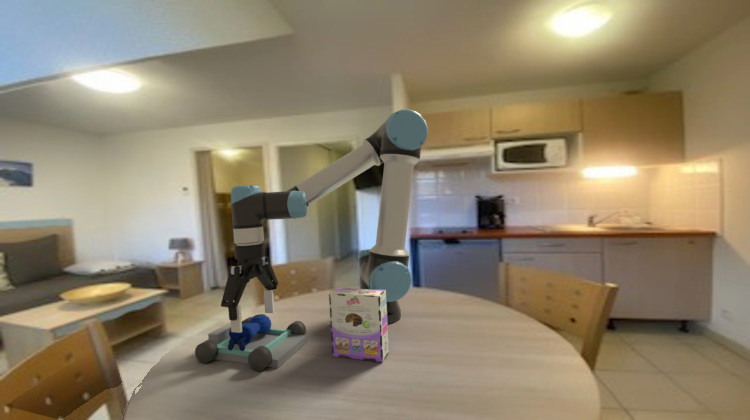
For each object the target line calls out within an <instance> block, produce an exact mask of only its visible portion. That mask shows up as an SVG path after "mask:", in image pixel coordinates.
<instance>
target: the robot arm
mask: <svg viewBox="0 0 750 420" xmlns="http://www.w3.org/2000/svg"><path fill="white" fill-rule="evenodd" d="M428 134H429V128H428V124H427V121H426V120H425V118H424V117H423V116H422V114H420V113H419V112H418V111H415V110H413V109H410V108H404V109H399V110H397V111H395V112H393V113H391V114H390V115H389V116H388V118H387V119H386V120H385V121H384V122H383V123H382V124H381V125H380V126H379V128H378V129H377V130H375V131H374V132H373V133H372V134H371V135H370V136H368V137H367V138H365V139H363V140H362V144H361V145H359V146H358V147H356V148H355V149H353V150H351V151H350V152H348V153H346V154H345V155H343V156H342V157H340V158H338V159H337V160H335V161H334V162H332V163H330V164H328V165H327V166H326V167H324V168H322V169H321V170H319V171H317V172H316V173H314V174H312V175H310V176H309V177H307V178H305V179H304V180H302V181H301V182H299V183H297V184H296V185H294V186H292V187H291V188H290V189H287V190H286V191H284V190H283V191H272V192H271V191H270V192H268V191H267V192H265V191H262V190H261V187H260V185H255V184H254V185H252V184H251V185H247V184H246V185H245V184H244V185H235V186H233V187H232V188H231V190H230V209H231V218H232V231H233V243H234V244H236V245H234V248H233V250H234V251H233V252H234V259H235V260H236V261H237V265H234V266H233V265H230V266H228V275H227V281H226V284H225V286H224V287H225V288H224V290H223V295H222V299H221V302H220V307H221V308H222V307H223V308H228V320H229V321H230V323H231V332H237V333H241V332H242V321H243V320H242V308H241V305H239V303H240V302H241V299H242V297H243V294H244V292H245V289H246V287H247V285H248V283H249V282H251V280H253V279H254V278H257V280H258V281H259V282H260V283H261V285H262V286H263V287H264V288H265V289H264V290H263V302H264V303H263V304H264V313H265V314H274V313H276V312H275V291H276V290H277V289H278V285H279V281H278V278H277V276H276V274H275V272H274V269H273V267H272V263H271V258H270V256H265V255H266V251H265V249H266V248H265V243H263V242H264V240H265V233H264V223H263V221H270V220H287V219H290V220H291V219H292V220H293V219H294V220H295V219H300V218H302V219H303V218H306V217H307V216H308V207H309V206H311V205H312V204H314V203H315V202H317V201H319V200H320V199H322V198H324V197H325V196H327V195H329V194H331V192H333V191H335V190H336V189H338V188H339V187H341V186H342V185H344V184H346V183H348V182H349V181H351V180H353V179H355V178H356V177H357V176H359V175H360V174H362V173H364V172H365V171H367V170H369V169H371V168H372V167H373V166H378V167H379V166H381V165H382V164H384V165H383V175H382V182H381V192H380V200H379V212H378V220H377V229H376V236H375V237H376V238H375V244H374V246H372V247H371V248H366V249H364V248H363V249H360V250H359V251H358V258H357V259H358V269H359V270H358V272H359V273H358V275H359V289H374V290H386V303H387V324H388V325H390V324H394V323H396V322H398V321H399V320H401V318H402V309H401V307H400V304H399V300H401V299H402V298H403V297H405V296H406V295H407V294H408V292H409V291H410V289H411V286H412V280H413V279H412V274H411V271H410V269H409V261H410V260H409V259H410V253H409V252H408V250H407V249H406V241H407V239H406V238H407V231H408V223H409V212H410V206H411V205H410V202H411V194H412V187H413V186H412V185H413V175H414V169H415V168H414V167H415V166H416V165H417V164H418V163H419V162H420V161H421V153H422V152H421V151H422V146H424V144H425V142H426V141H427V139H428Z"/></svg>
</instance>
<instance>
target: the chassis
mask: <svg viewBox="0 0 750 420" xmlns="http://www.w3.org/2000/svg"><path fill="white" fill-rule="evenodd" d="M252 317H253V316H249V317H247V318H246V319H244V320H242V324H244V323H249V321H250V320H251V318H252ZM230 328H231V322H228V323H226V324H225V325H223V326H221V327H219V328H216V329H215V330H213V331H211V332H209V333H208V334H207V335H208V339H207V340H205V341H202V342H201V343H199V344H197V346H195V350H194V355H195V358H196V360H197V361H198V362H199V363H201V364H208V363H209V362H211V361H212V360H215V361H216V360H218V361H223V362H231V363H238V364H245V365H249V366H250V368H251V369H252V370H253V371H255V372H261V371H263V370H264V369H266V368H267V367H268V368H275V369H280V367H281V366H282V365H283V364H284V363H286V362H287V361H288V360H289V359H291V358H292V356H293V355H295V354H296V353H297V352H298V351H300V350H301V349H302V348H303V347H304V346H305V345H307V343H308V336H307V335H306V333H307V327H306V325H305V324H304V322H302V321H301V320H295V321H293V322H292V323H290V324H289V325H288V326H287V328H274V327H271V330H270V331H269V332H267V333H264V334H255V335H254V337H253V339H252V341H251V342H250V343H249V344H247V345H245V350H244V351H241V350H240V348H239V345H236V344H235V345H234V348H233V349H232V350H231V351H230V350H228V345H229V340H230V336H229V331H230Z"/></svg>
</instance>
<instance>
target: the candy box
mask: <svg viewBox="0 0 750 420" xmlns="http://www.w3.org/2000/svg"><path fill="white" fill-rule="evenodd" d="M328 301H329V317H330V319H329V322H330V334H331V335H330V336H331V339H330V340H331V355H332V356H333V357H337V358H345V359H353V360H360V361H361V360H362V361H371V362H379V363H383V362H384V361H385V359H386V357H387V356H388V355H389V352H390V351H389V350H390V348H389V331H388V329H389V328H388V327H389V324H387V303H386V290H374V289H360V288H355V287H354V288H350V287H349V288H348V287H337V288H336V289H334V290H332V291H331V292H329V293H328Z"/></svg>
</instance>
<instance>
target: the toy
mask: <svg viewBox="0 0 750 420" xmlns="http://www.w3.org/2000/svg"><path fill="white" fill-rule="evenodd" d="M251 317H252V318H251V320H250V321H249V323H244V324H242V332H241V333H237V332H231V328H230V331H229V336H230V340H229V345H228V350H230V351H231V350H232V349H233V348H234V345H235V344H236V345H239V348H240V350H241V351H244V350H245V345H247V344H249V343H250V342H251V341H252V339H253V337H254V335H255V334H264V333H267V332H269V331H270V330H271V328H272V321H271V318H270V317H269V316H268V315H266V314H263V313H261V314H256V315H255V314H254V315H253V316H251Z"/></svg>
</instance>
